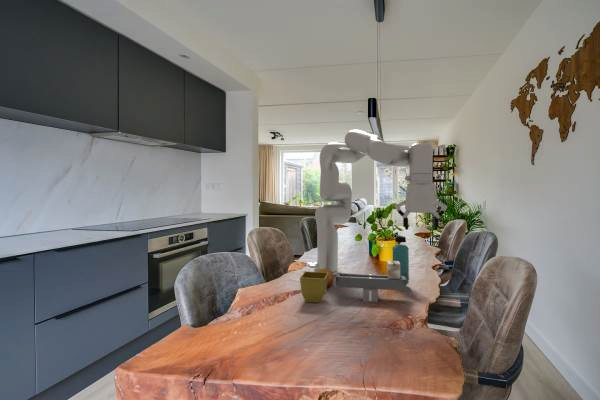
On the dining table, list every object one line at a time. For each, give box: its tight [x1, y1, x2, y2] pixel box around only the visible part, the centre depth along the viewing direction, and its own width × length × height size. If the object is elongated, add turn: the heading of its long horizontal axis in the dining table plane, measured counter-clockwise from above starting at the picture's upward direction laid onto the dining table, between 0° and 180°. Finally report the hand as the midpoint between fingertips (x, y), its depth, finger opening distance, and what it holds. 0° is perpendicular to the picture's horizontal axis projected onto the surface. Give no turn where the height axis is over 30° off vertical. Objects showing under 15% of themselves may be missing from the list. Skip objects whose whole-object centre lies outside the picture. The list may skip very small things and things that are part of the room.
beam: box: [335, 272, 407, 303], centre depth 123 cm, size 24×9×8 cm, turn 79°
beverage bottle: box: [392, 235, 410, 286], centre depth 137 cm, size 6×7×20 cm
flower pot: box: [299, 271, 328, 304], centre depth 120 cm, size 9×9×9 cm
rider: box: [386, 260, 400, 279], centre depth 121 cm, size 4×6×7 cm
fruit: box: [316, 269, 335, 288], centre depth 138 cm, size 8×8×8 cm
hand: (420, 229), depth 119 cm, fingers open, 9 cm apart
